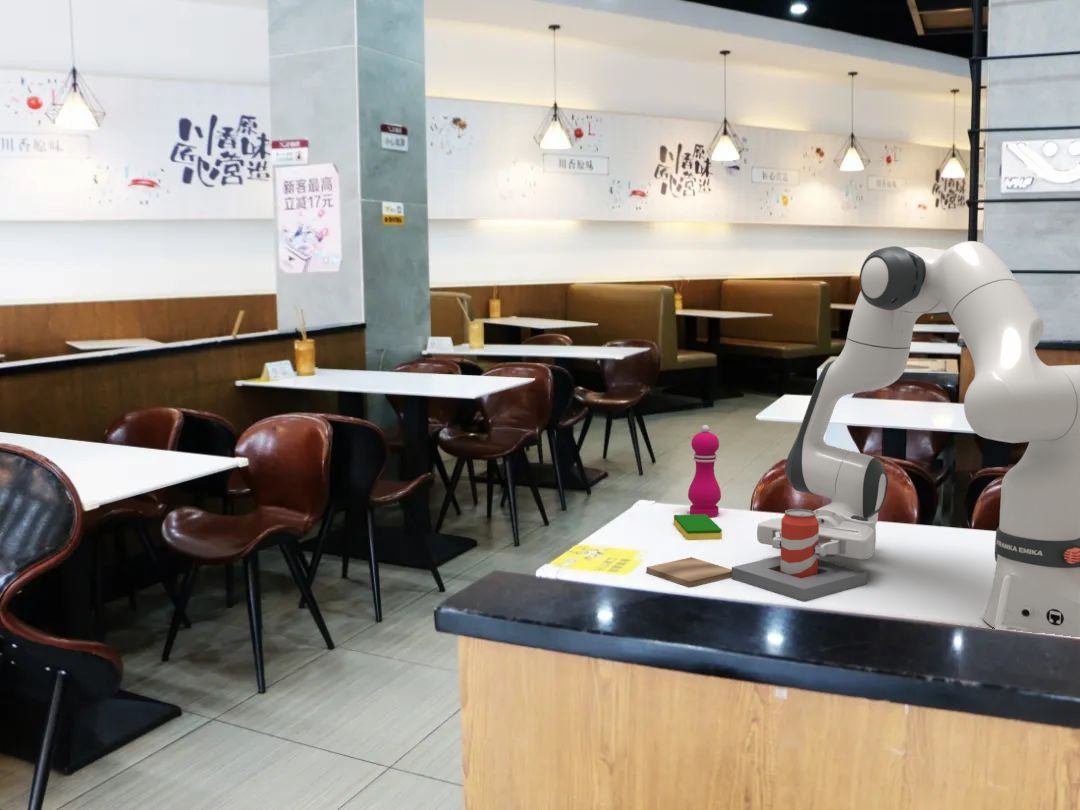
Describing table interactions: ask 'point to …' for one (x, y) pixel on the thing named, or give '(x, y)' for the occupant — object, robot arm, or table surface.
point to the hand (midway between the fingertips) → (797, 547)
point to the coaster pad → (690, 572)
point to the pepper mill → (704, 475)
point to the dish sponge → (697, 527)
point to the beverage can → (799, 543)
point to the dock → (799, 588)
